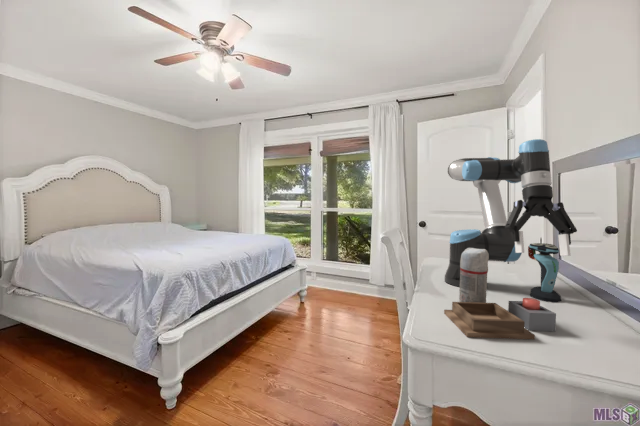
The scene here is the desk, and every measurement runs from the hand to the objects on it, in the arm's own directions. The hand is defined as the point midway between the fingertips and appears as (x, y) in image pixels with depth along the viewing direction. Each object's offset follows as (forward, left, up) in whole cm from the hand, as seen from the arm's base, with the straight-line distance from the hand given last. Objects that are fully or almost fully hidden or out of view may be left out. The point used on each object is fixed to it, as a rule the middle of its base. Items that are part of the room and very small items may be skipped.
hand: (542, 254), depth 82 cm
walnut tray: (+6, -20, -20) cm, 29 cm away
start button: (+4, -6, -15) cm, 17 cm away
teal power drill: (-20, +15, -20) cm, 32 cm away
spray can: (-7, -17, -20) cm, 27 cm away
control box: (+4, -6, -20) cm, 21 cm away
